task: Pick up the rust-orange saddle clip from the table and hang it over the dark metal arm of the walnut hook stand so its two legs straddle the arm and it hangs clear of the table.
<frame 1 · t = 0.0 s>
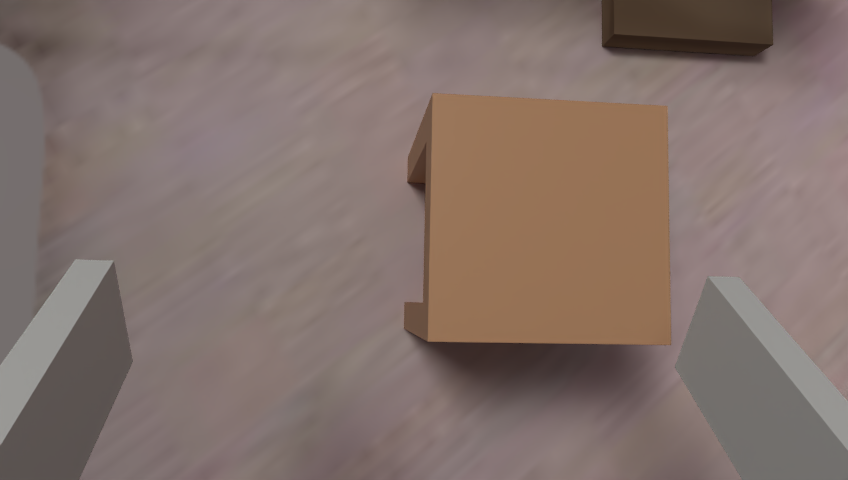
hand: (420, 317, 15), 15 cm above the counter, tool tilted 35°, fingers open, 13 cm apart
saddle clip: (490, 244, 31), on the counter
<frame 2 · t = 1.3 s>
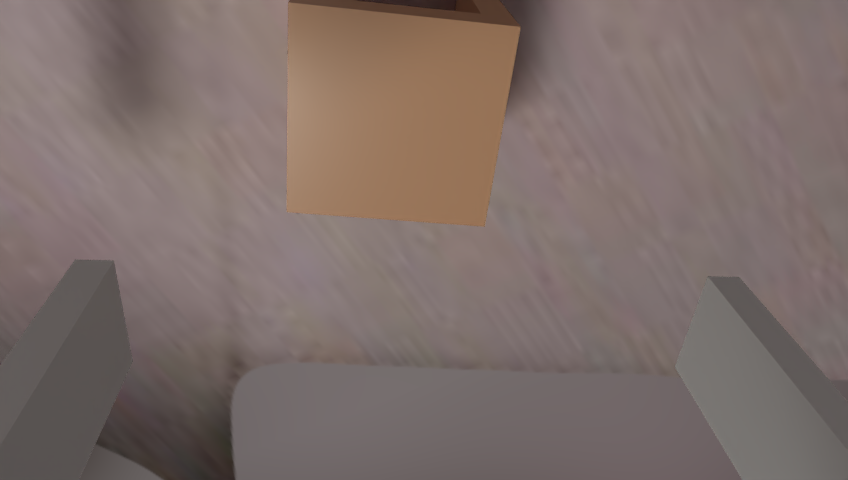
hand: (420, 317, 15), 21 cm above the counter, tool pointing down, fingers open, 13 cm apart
saddle clip: (392, 57, 33), on the counter
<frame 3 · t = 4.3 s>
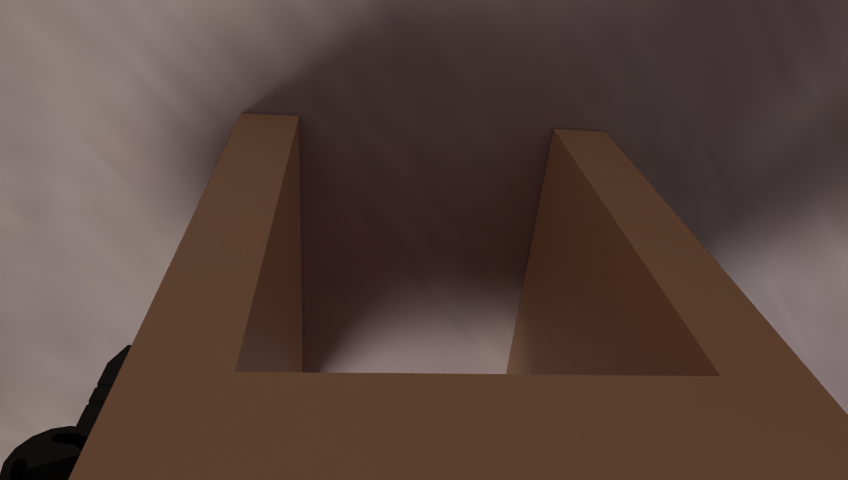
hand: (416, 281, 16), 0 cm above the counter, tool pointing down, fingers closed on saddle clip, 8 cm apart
saddle clip: (415, 274, 16), on the counter, touching gripper
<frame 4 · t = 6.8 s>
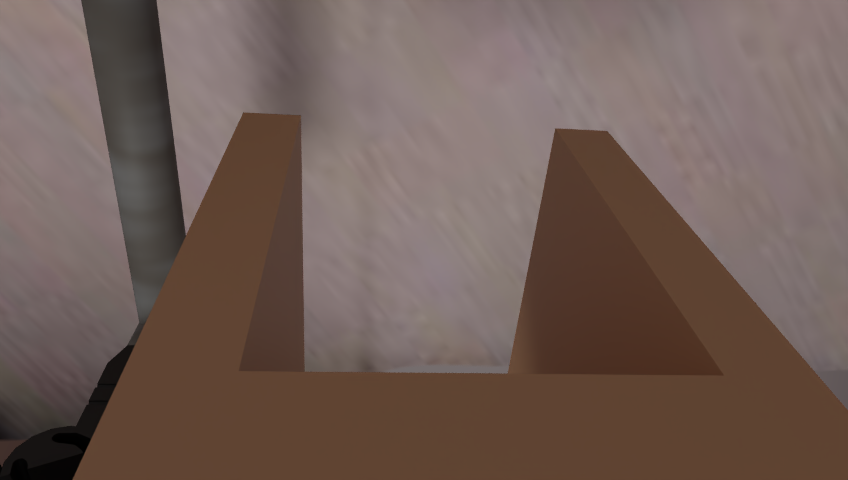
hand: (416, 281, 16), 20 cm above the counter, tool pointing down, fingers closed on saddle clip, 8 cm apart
hook stand: (223, 20, 32), on the counter
saddle clip: (416, 274, 16), point 20 cm above the counter, touching gripper
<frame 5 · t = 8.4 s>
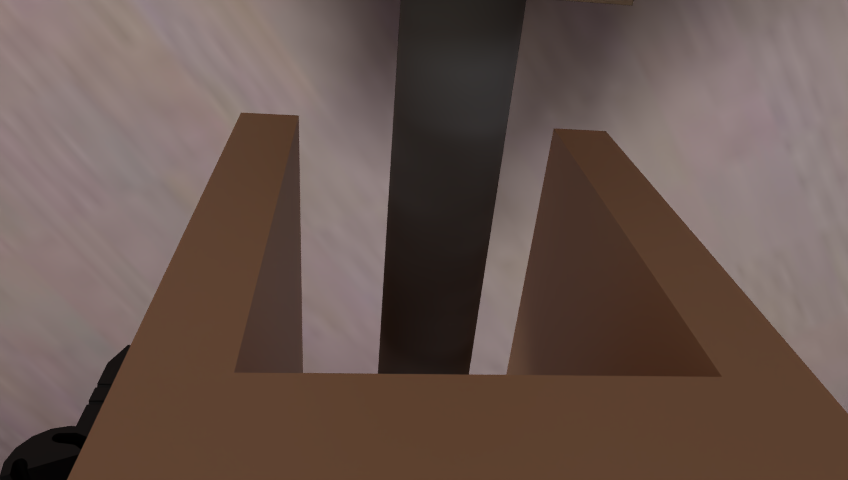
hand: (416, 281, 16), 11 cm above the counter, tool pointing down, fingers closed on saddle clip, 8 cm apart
hook stand: (403, 87, 24), on the counter
saddle clip: (415, 274, 16), point 10 cm above the counter, touching gripper
when the fingers open (8 cm above the counter, at t = 9.7 s): saddle clip drops 1 cm, resting on hook stand.
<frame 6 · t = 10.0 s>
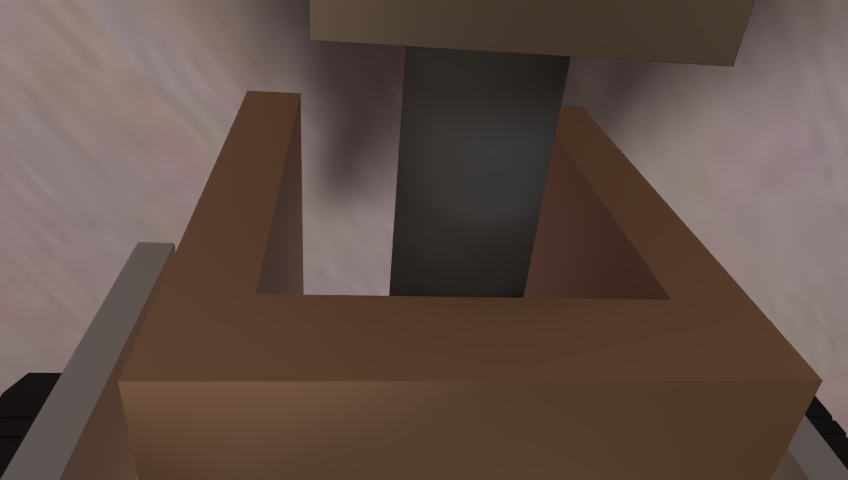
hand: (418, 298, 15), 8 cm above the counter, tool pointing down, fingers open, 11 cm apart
hook stand: (404, 113, 22), on the counter
saddle clip: (408, 243, 18), point 6 cm above the counter, touching hook stand
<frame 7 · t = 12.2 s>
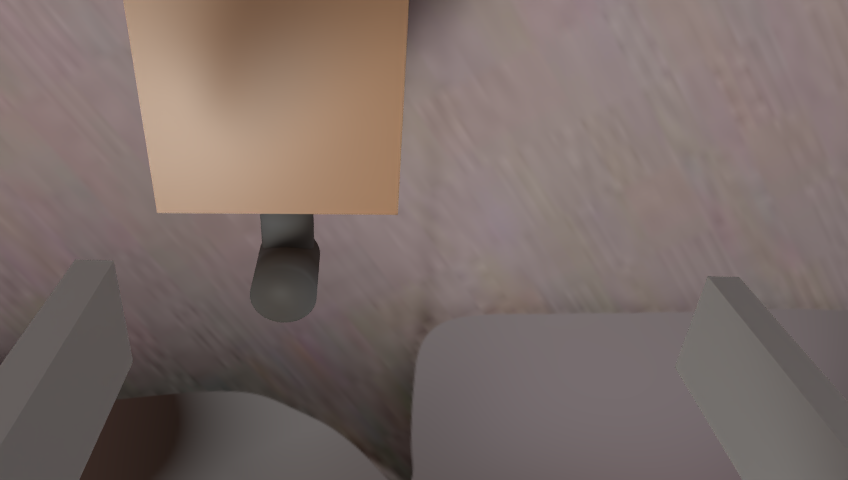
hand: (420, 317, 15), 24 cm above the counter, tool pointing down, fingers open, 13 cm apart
saddle clip: (293, 26, 28), point 6 cm above the counter, touching hook stand
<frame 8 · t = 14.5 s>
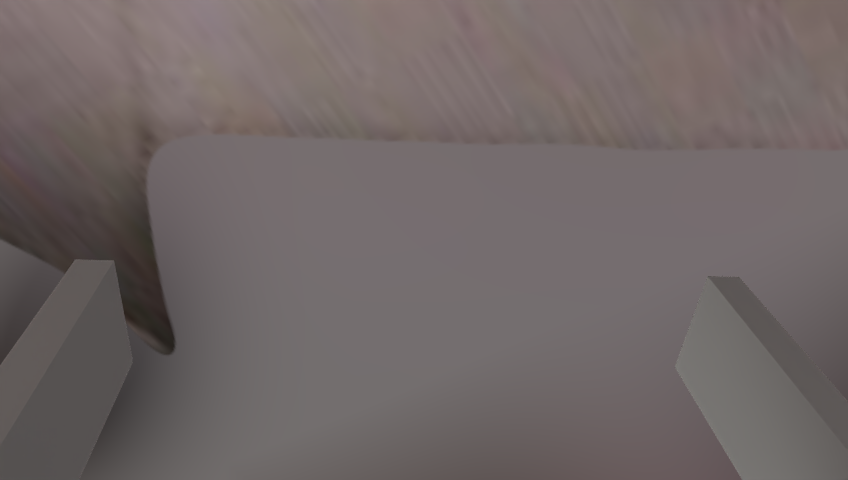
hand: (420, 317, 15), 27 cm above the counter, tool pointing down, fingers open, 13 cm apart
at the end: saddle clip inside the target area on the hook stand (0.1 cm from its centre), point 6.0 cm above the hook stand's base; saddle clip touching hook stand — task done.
